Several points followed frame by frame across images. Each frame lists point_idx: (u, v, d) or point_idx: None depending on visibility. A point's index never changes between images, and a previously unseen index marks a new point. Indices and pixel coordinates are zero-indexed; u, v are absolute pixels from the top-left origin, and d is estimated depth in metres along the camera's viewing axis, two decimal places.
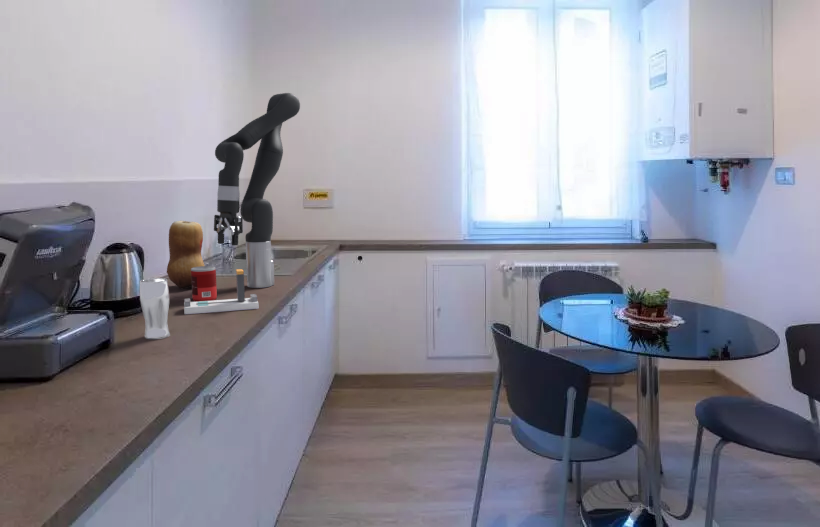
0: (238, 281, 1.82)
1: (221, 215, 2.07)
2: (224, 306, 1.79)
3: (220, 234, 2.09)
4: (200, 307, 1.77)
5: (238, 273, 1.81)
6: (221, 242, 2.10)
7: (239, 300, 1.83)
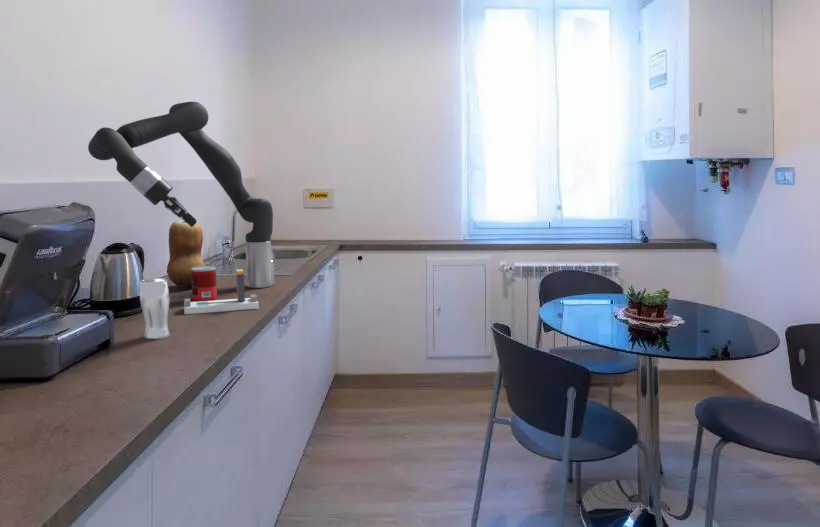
0: (238, 281, 1.82)
1: None
2: (224, 306, 1.79)
3: None
4: (200, 307, 1.77)
5: (238, 273, 1.81)
6: None
7: (239, 300, 1.83)
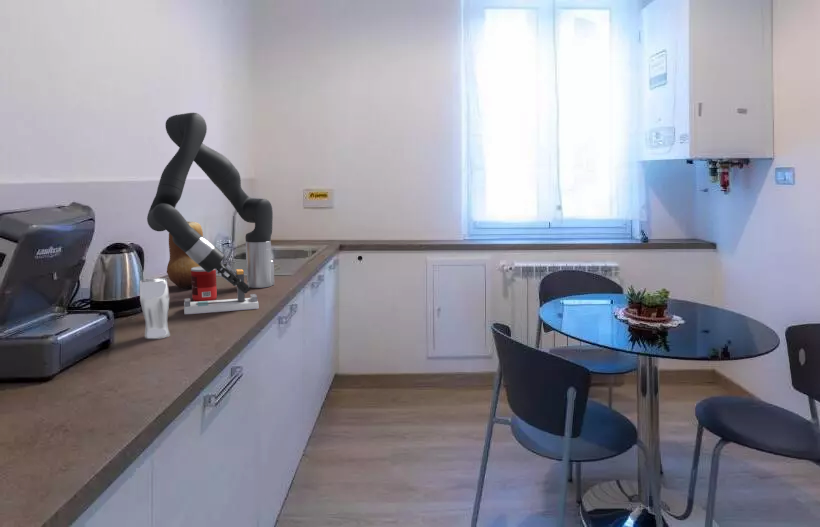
0: None
1: None
2: (224, 306, 1.79)
3: None
4: (200, 307, 1.77)
5: (238, 273, 1.81)
6: None
7: (239, 300, 1.83)
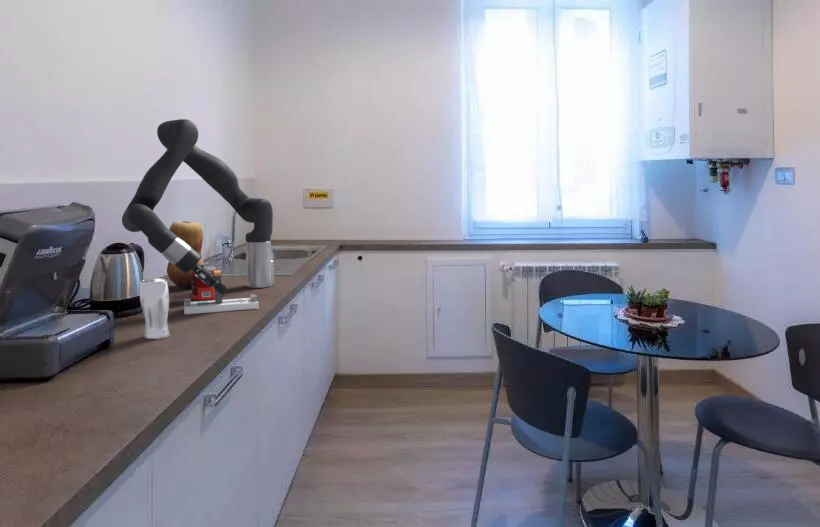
0: None
1: None
2: (224, 306, 1.79)
3: None
4: (200, 307, 1.77)
5: (215, 274, 1.79)
6: None
7: (216, 302, 1.80)
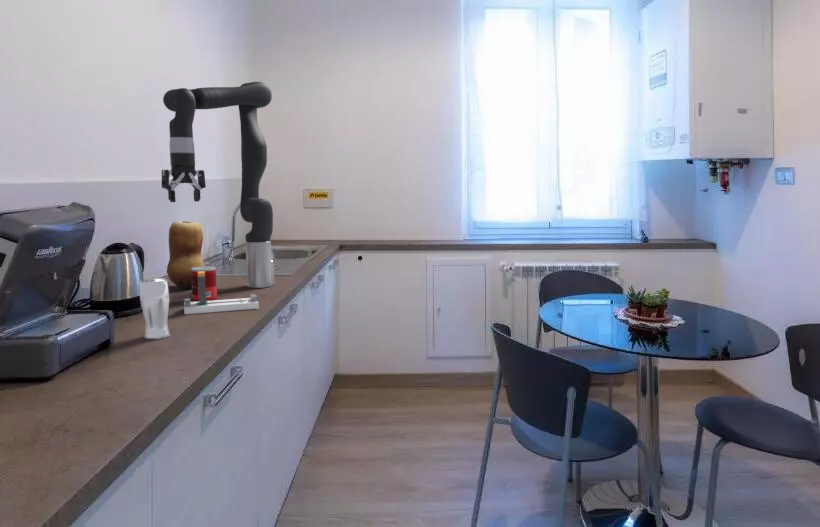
0: (199, 283, 1.78)
1: None
2: (224, 306, 1.79)
3: (194, 191, 1.94)
4: (200, 307, 1.77)
5: (199, 275, 1.77)
6: (195, 200, 1.94)
7: (200, 303, 1.79)
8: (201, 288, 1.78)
